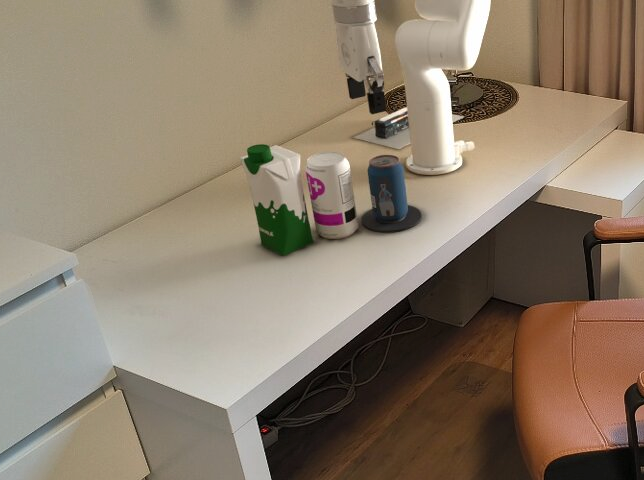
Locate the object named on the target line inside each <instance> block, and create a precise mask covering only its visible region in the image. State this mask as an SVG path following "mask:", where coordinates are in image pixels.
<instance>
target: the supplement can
mask: <svg viewBox="0 0 644 480" xmlns="http://www.w3.org/2000/svg"><path fill="white" fill-rule="evenodd" d="M306 161H307V162H306V164H305V167H304V170H305V176H306V180H307V187H308V193H309V197H310V204H311V209H312V215H313V221H314V227H315V232H316V233H317V234H318V235H319V236H321V237H322V238H324V239H329V240H338V239H339V240H340V239H344V238H347V237H349V236H352V235H353V234H354V233H356V230H358V228H359V219H358V213H357V206H356V200H355V194H354V193H355V192H354V187H353V181H352V180H353V179H352V172H351V166H350V162H349V161H348V159H347V158H346V156H345V154H343V153H341V152H338V151H323V152H318V153H315V154H312V155H311V156H309V157H308V158H307V160H306Z"/></svg>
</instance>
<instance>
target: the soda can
mask: <svg viewBox="0 0 644 480" xmlns="http://www.w3.org/2000/svg"><path fill="white" fill-rule="evenodd" d="M368 163H369V165H368V167H367V172H366V173H367V180H368V187H369V193H370V202H371V207H372V208H371V209H373V214H374V216H375V217H376V218H377V219H378V220H379V221H380V222H383V223H395V222H399V221H401V220H403V219H404V218H405V216H406V214H407V212H408V205H409V204H408V199H407V198H408V197H407V188H406V181H405V171H404V165H402V163H401V162H400V158H399V157H398V156H396V155H392V154H380V155H376V156H374V157H372V158H371V159H369V161H368Z"/></svg>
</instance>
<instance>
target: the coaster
mask: <svg viewBox="0 0 644 480" xmlns="http://www.w3.org/2000/svg"><path fill="white" fill-rule="evenodd" d="M407 205H408V212H407V214H406V216H405V218H404V219H403V220H401V221H399V222H395V223H383V222H380V221H379V220H378V219H377V218H376V217H375V216H374V214H373V209H372V208H371V209H369V210H367V211H366V212H364V213H363V214H362V216H361V218H360V220H361V225H362V227H364V228H365V229H366V230H368V231H371V232H375V233H383V234H385V233H386V234H389V233H399V232H403V231H406V230H409V229H411V228H414V227H415V226H417V225H418V224H419V223H420V222H421V221H422V218H423V214H422V212H421V210H420V209H418V208H417V207H415V206H413V205H409V204H407Z"/></svg>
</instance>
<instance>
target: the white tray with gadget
mask: <svg viewBox="0 0 644 480" xmlns="http://www.w3.org/2000/svg"><path fill="white" fill-rule="evenodd" d="M463 118H465V116H463V115H459V114H454V113H452V124H453V123H454V122H457V121H459V120H460V119H461V120H462V119H463ZM371 126H374V127H373V128H370V129H368V130H366V131H364V132H362V133H359V134H358V135H356V136H353V137H352V138H353V139H357V140H362V141H364V142H369V143H373V144H377V145H379V146H380V145H381V146H383V147H388V148H391V149H395V150H400V149H402V148H404V147H406V146H408V145H411V139H410V130H409V121H408V111H407V106H405V107H403V108H400V109H398V110H396V111H394V112H392V113H390V114H387V115H385V116H383V117H380V118H379V119H377V120H375V121H372V122H371Z"/></svg>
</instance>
